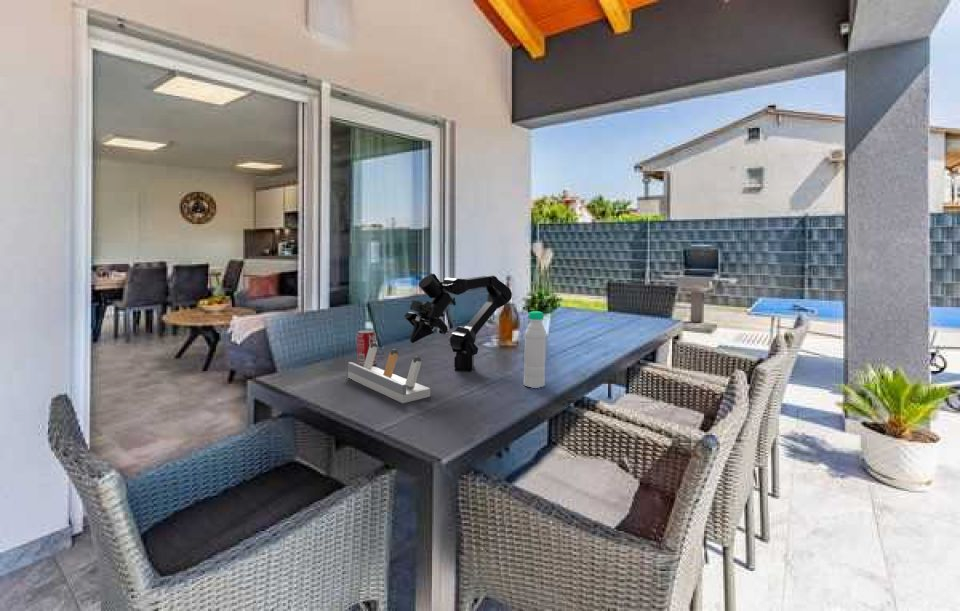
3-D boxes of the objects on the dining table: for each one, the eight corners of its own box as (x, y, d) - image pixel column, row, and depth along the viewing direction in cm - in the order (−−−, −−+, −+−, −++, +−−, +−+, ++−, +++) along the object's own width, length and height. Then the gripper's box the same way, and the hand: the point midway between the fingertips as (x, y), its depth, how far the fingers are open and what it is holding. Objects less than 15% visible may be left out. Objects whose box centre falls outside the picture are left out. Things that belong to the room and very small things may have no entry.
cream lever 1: (367, 370, 171) (375, 342, 172) (371, 372, 169) (380, 343, 170) (361, 369, 170) (369, 340, 171) (365, 371, 167) (374, 342, 168)
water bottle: (531, 390, 158) (533, 314, 155) (519, 384, 165) (521, 310, 161) (548, 387, 162) (551, 312, 158) (536, 381, 168) (539, 309, 164)
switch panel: (374, 373, 176) (373, 358, 175) (430, 396, 151) (430, 379, 150) (348, 378, 169) (347, 362, 169) (402, 403, 144) (402, 385, 144)
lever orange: (386, 378, 162) (395, 348, 163) (392, 380, 159) (400, 350, 160) (380, 377, 160) (389, 347, 161) (386, 379, 158) (394, 349, 159)
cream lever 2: (409, 387, 152) (418, 356, 153) (415, 390, 150) (424, 358, 151) (402, 386, 150) (412, 354, 152) (408, 388, 148) (418, 356, 149)
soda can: (371, 367, 184) (371, 333, 182) (354, 366, 185) (353, 332, 183) (379, 362, 191) (379, 329, 189) (362, 361, 192) (361, 328, 190)
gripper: (408, 289, 173) (381, 323, 167) (440, 294, 159) (412, 331, 153) (426, 309, 179) (401, 343, 173) (459, 315, 165) (433, 352, 160)
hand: (411, 342), depth 165 cm, fingers closed
